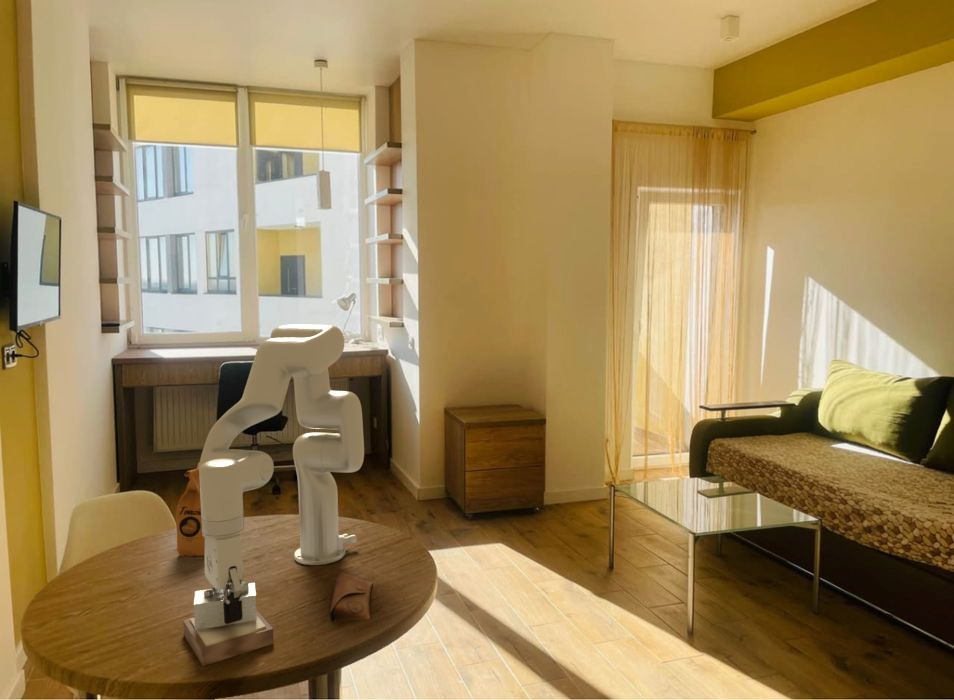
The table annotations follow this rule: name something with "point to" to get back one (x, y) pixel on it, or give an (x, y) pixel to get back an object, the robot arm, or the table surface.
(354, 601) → the sunglasses case
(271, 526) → the table surface
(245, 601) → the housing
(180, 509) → the coffee package
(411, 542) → the table surface
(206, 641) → the stand
